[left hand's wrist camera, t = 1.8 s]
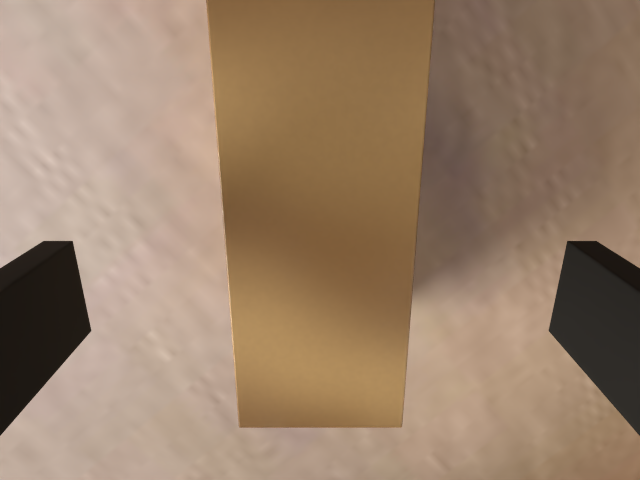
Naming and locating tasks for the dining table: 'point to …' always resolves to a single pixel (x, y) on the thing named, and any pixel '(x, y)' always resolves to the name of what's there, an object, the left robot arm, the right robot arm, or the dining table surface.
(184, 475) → the dining table surface
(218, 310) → the dining table surface
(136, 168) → the dining table surface
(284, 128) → the bar
